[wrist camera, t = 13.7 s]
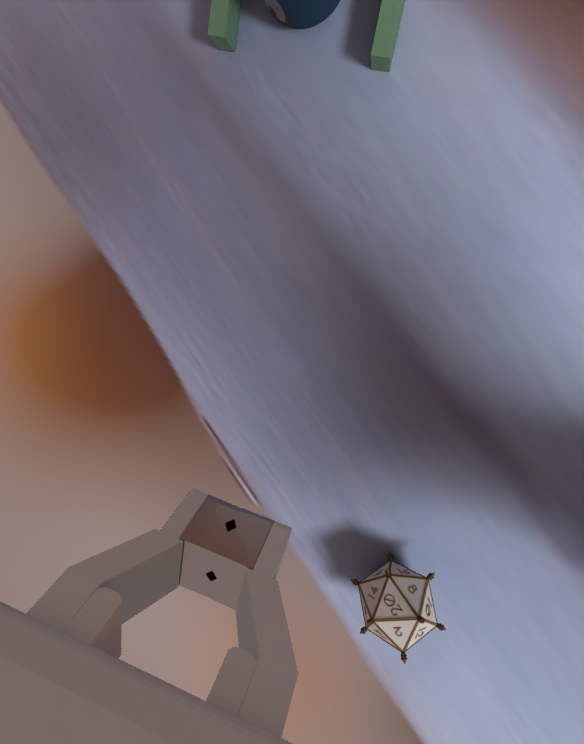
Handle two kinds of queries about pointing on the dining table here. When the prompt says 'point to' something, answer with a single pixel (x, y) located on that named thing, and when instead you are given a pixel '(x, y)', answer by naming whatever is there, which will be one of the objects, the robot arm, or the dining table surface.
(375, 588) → the game die
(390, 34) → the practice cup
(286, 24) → the soda can
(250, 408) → the dining table surface
